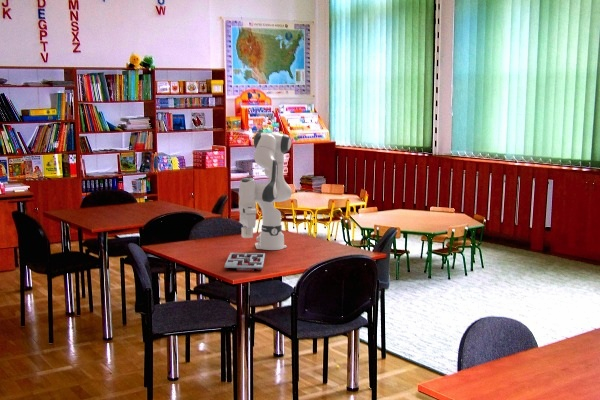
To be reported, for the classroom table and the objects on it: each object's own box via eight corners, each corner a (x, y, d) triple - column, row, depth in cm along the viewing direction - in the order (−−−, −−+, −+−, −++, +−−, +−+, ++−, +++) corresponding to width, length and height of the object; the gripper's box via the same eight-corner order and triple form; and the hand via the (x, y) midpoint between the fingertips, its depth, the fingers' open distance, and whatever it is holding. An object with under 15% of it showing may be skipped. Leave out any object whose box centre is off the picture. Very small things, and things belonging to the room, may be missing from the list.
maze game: (230, 258, 405) (230, 252, 405) (265, 258, 406) (265, 253, 405) (224, 272, 371) (224, 266, 370) (262, 272, 371) (262, 266, 370)
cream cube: (241, 236, 387) (241, 227, 387) (250, 236, 389) (250, 226, 388) (243, 238, 382) (243, 228, 382) (252, 237, 384) (252, 228, 383)
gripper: (236, 206, 393) (236, 231, 394) (246, 211, 373) (246, 237, 375) (248, 205, 395) (248, 230, 396) (257, 210, 375) (257, 236, 377)
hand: (247, 234), depth 385 cm, fingers closed on cream cube, 5 cm apart
